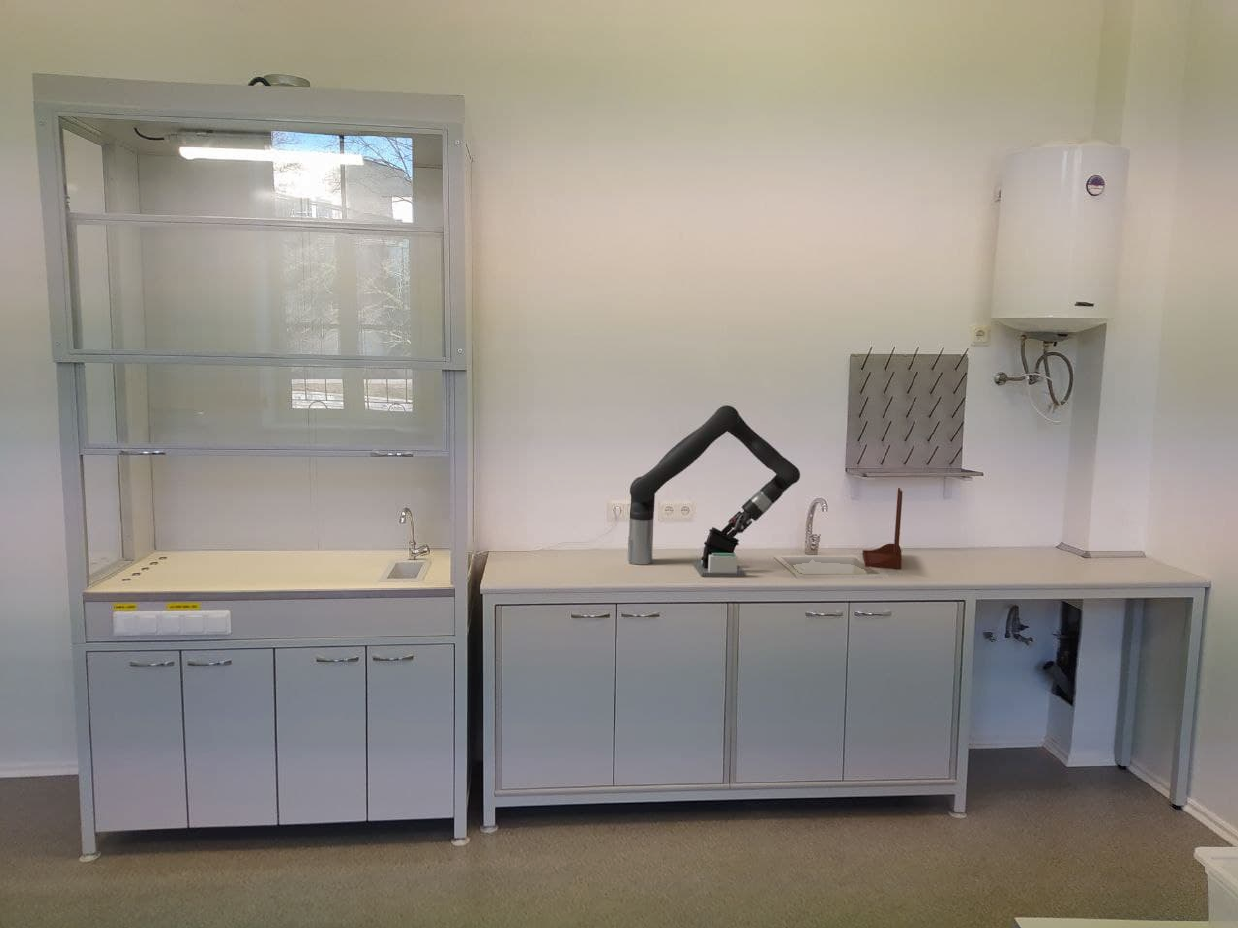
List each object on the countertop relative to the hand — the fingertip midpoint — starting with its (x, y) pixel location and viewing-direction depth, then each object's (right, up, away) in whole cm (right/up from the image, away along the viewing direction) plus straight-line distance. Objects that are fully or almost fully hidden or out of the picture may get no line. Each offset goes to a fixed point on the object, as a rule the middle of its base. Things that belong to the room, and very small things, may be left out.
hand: (725, 535), depth 286 cm
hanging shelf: (+66, -13, +25) cm, 72 cm away
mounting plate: (-3, -13, +1) cm, 14 cm away
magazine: (-2, -12, +1) cm, 12 cm away
